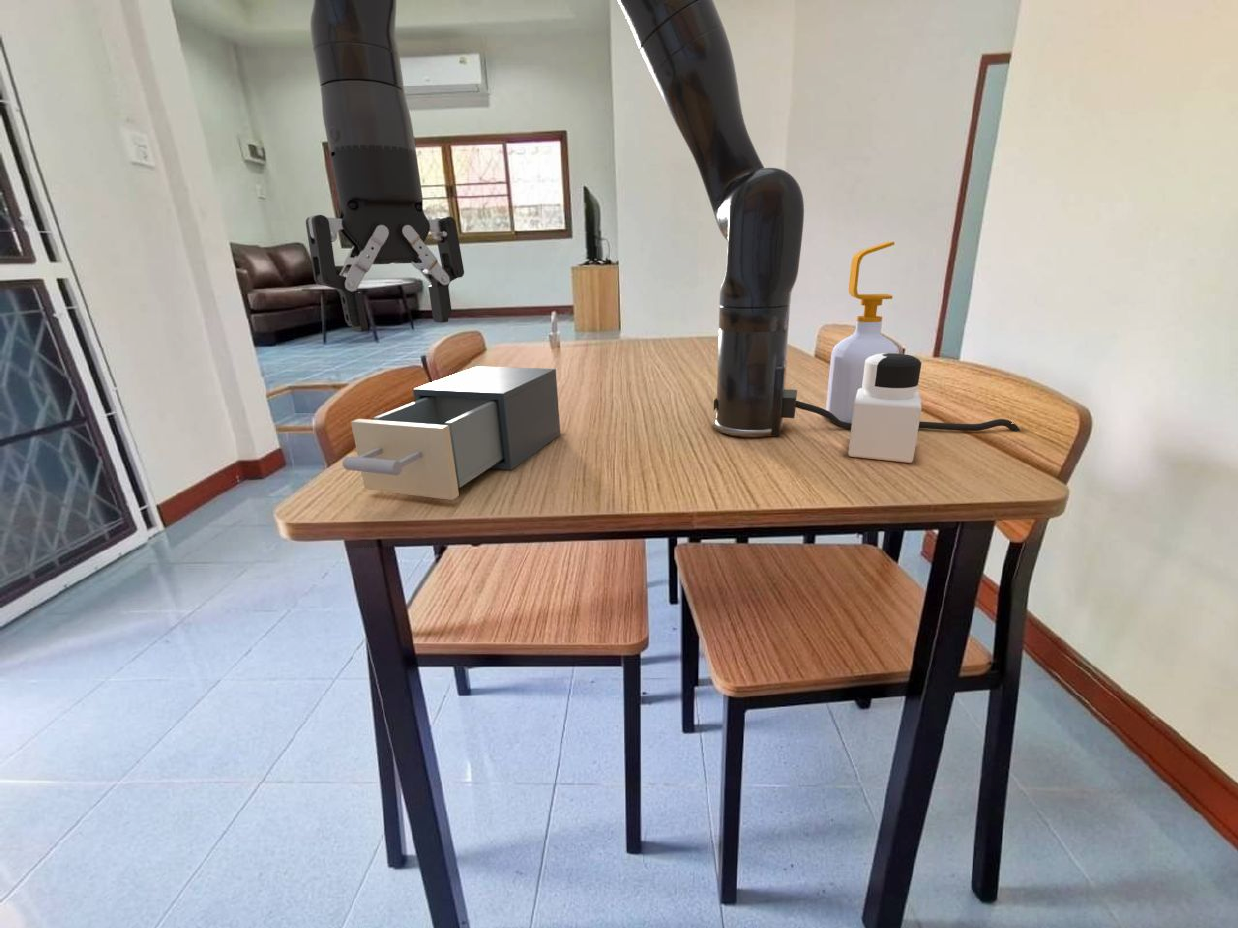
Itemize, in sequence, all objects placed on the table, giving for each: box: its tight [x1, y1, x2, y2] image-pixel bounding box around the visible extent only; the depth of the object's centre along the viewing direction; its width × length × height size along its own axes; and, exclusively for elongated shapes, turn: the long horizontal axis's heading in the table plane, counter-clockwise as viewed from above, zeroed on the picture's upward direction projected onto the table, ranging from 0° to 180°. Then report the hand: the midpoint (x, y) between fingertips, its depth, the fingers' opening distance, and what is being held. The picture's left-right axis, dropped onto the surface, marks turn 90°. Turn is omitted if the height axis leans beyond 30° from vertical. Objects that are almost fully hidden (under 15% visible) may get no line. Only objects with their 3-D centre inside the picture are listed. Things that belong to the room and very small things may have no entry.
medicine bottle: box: [847, 353, 923, 464], centre depth 68 cm, size 7×7×12 cm
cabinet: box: [412, 365, 561, 471], centre depth 75 cm, size 15×13×10 cm
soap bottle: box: [825, 241, 900, 423], centre depth 79 cm, size 9×9×25 cm
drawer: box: [342, 396, 505, 501], centre depth 62 cm, size 18×11×8 cm, turn 161°
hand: (402, 326), depth 58 cm, fingers open, 8 cm apart
